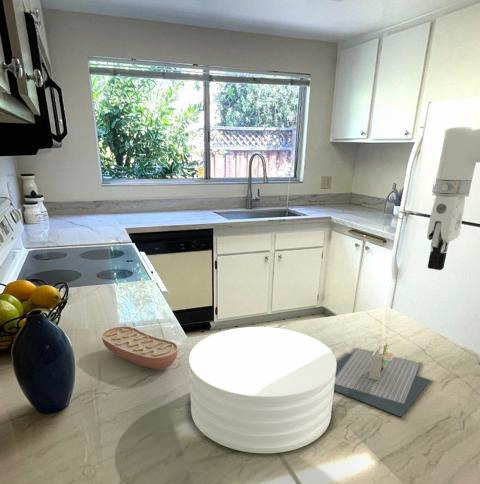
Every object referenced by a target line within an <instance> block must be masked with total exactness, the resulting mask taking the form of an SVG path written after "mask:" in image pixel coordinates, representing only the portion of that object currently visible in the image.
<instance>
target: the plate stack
mask: <svg viewBox="0 0 480 484" xmlns="http://www.w3.org/2000/svg"><path fill="white" fill-rule="evenodd" d="M337 362H338V361H337V358H336V356H335V354H334V353H333V351H332V350H331V349H330V348H329V347H328V346H327V345H325V344H324V343H323V342H321V341H320V340H318V339H316V338H315V337H312V336H310V335H307V334H304V333H302V332H298V331H294V330H290V329H284V328H279V327H270V326H248V327H247V326H246V327H238V328H231V329H226V330H222V331H219V332H216V333H213V334H211V335H209V336H206V337H205V338H203V339H202V340H200V341H198V343H196V344H195V345H194V347H193V348H192V349H191V350H190V353H189V355H188V369H189V371H188V372H189V374H188V375H189V394H190V413H191V418H192V420H193V422H194V424H195V426H196V427H197V429H199V431H200V432H201V433H202V434H203V435H204V436H206V437H207V438H208V439H210V440H212V441H213V442H215V443H217V444H218V445H221V446H223V447H226V448H229V449H232V450H234V451H240V452H243V453H244V452H245V453H251V454H278V453H279V454H280V453H285V452H286V453H287V452H290V451H291V452H292V451H295V450H297V449H301V448H303V447H305V446H307V445H310V444H311V443H313V442H315V441H316V440H318V439H319V438H320V437H321V436H322V435H324V433H325V432H326V430H327V429H328V428H329V425H330V422H331V418H332V409H333V402H334V394H335V393H334V392H335V391H334V384H335V374H336V367H337Z"/></svg>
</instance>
